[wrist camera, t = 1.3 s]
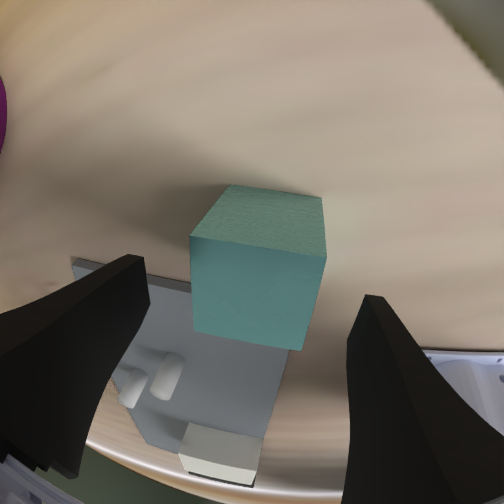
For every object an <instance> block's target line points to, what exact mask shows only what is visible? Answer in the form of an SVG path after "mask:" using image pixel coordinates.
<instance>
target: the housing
mask: <svg viewBox="0 0 504 504" xmlns="http://www.w3.org/2000/svg"><path fill="white" fill-rule="evenodd" d="M262 444H263V438H257V437H251V436H246V435H241V434H236V433H231V432H226V431H222V430H217V429H213V428H209V427H205V426H201V425H197V424H194V423H190V422H189V424H188V426H187V429H186V432H185V435H184V437H183V440H182V443H181V446H180V449H179V451H178V455H179V457H180V459H181V462H182V464H183V466H184V469H185V470H187V471H190V472H194V473H197V474H201V475H205V476H209V477H213V478H218V479H222V480H227V481H231V482H236V483H242V484H247V485H252V482H253V480H254V477H255V475H256V472H257V469H258V464H259V459H260V454H261V449H262Z"/></svg>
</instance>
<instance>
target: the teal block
mask: <svg viewBox="0 0 504 504" xmlns="http://www.w3.org/2000/svg"><path fill="white" fill-rule="evenodd" d="M326 259H327V253H326V240H325V228H324V217H323V207H322V198H318V197H312V196H306V195H300V194H294V193H287V192H281V191H274V190H267V189H260V188H253V187H245V186H237V185H230V186H229V187H228V188H227V189H226V190H225V192H224V193H223V194H222V195H221V197H220V198H219V199H218V200H217V201H216V203H215V204H214V205H213V206H212V208H211V209H210V210H209V211H208V213H207V214H206V215H205V216H204V218H203V219H202V220H201V222H200V223H199V224H198V225H197V227H196V228H195V229H194V230H193V232H192V233H191V234H190V267H191V290H192V308H193V324H194V331H197V332H201V333H206V334H210V335H215V336H220V337H224V338H229V339H234V340H239V341H245V342H250V343H255V344H261V345H267V346H272V347H278V348H284V349H291V350H297V351H301V350H302V346H303V343H304V340H305V336H306V333H307V330H308V326H309V323H310V319H311V316H312V312H313V309H314V305H315V301H316V298H317V294H318V290H319V287H320V283H321V279H322V275H323V271H324V267H325V263H326Z"/></svg>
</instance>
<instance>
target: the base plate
mask: <svg viewBox="0 0 504 504" xmlns="http://www.w3.org/2000/svg"><path fill="white" fill-rule="evenodd" d="M71 266H72V269H73V273H74V276H75V280H76V281H77V280H79V279H80V278H82V277H84V276H86V275H88V274H90V273H92V272H93V271H95V270H97V269H99V268H101V267H103V266H105V265H103V264H99V263H95V262H91V261H87V260H83V259H77V260H76V261H75V262H74V263H73V264H72V265H71ZM146 277H147V284H148V290H149V296H150V302H151V304H150V307H149V309H148V311H147V314H146V316H145V318H144V320H143V323H142V325H141V327H140V329H139V330H138V332H137V334H136V335H135V337H134V339H133V340H132V342H131V344H130V345H129V347H128V349H127V350H126V352H125V354H124V355H123V357H122V358H121V360H120V362H119V363H118V365H117V367H116V368H115V370H114V372H113V373H112V375H111V376H112V378H113V381H114V383H115V385H116V387H117V389H118V391H119V393H120V394H119V396H118V398H117V400H118V401H119V402H120V403H121V404H122V405H124V406H126V407H127V409H128V411H129V413H130V415H131V417H132V418H133V420H134V422H135V424H136V426H137V427H138V429H139V431H140V433H141V435H142V436H143V438H144V440H145V441H146V443H147V444H149V445H151V446H154V447H157V448H160V449H163V450H166V451H169V452H172V453H176V454H178V451H179V449H180V446H181V443H182V440H183V437H184V435H185V432H186V429H187V426H188V424H189V422H190V423H194V424H197V425H201V426H205V427H209V428H213V429H217V430H222V431H226V432H231V433H236V434H241V435H246V436H251V437H257V438H264V435H265V432H266V429H267V426H268V423H269V419H270V416H271V413H272V410H273V406H274V403H275V400H276V396H277V393H278V389H279V386H280V382H281V379H282V375H283V372H284V368H285V365H286V361H287V357H288V353H289V350H290V349H284V348H278V347H272V346H267V345H261V344H255V343H250V342H245V341H239V340H234V339H229V338H224V337H220V336H215V335H210V334H206V333H201V332H197V331H194V324H193V308H192V290H191V283H186V282H181V281H176V280H171V279H166V278H162V277H157V276H152V275H148V274H146ZM256 473H257V472H256ZM189 474H191V475H195V476H198V477H202V478H206V479H210V480H214V481H219V482H223V483H228V484H233V485H238V486H243V487H249V488H253V487H254V482H255V478H256V475H255V477H254V480H253V482H252V485H247V484H242V483H236V482H231V481H227V480H222V479H218V478H213V477H209V476H205V475H201V474H197V473H194V472H190V471H189Z"/></svg>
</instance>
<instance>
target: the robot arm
mask: <svg viewBox="0 0 504 504" xmlns="http://www.w3.org/2000/svg"><path fill="white" fill-rule="evenodd" d="M150 304H151V302H150V296H149V290H148V284H147V277H146V270H145V263H144V257H142V256H136V255H131V254H127V255H125V256H123V257H120V258H118V259H116V260H114V261H112V262H110V263H108V264H106V265H105V266H103V267H101V268H99V269H97V270H95V271H93V272H92V273H90V274H88V275H86V276H84V277H82V278H80V279H79V280H77V281H75V282H73V283H71V284H69V285H67V286H65V287H63V288H61V289H59V290H57V291H55V292H53V293H51V294H49V295H47V296H45V297H43V298H41V299H38V300H36V301H34V302H31V303H29V304H27V305H24V306H22V307H19V308H16V309H13V310H10V311H7V312H4V313H1V314H0V504H42V501H44V502H45V503H46V504H84V503H82V502H80V501H79V500H77V499H75V498H73V497H71V496H70V495H68V494H66V493H65V492H63V491H61V490H60V489H58V488H57V487H55V486H54V485H52V484H50V483H49V482H47V481H46V480H44V479H43V478H42V477H40V476H39V475H37V474H36V473H34V471H35V469H36V467H37V466H38V467H39V468H40V469H42V470H43V471H45V472H46V471H48V469H49V467H50V468H52V469H53V470H55V471H56V472H58V473H60V474H61V475H63V476H65V477H66V478H68V479H74V478H77V477H78V475H79V469H80V463H81V459H82V454H83V449H84V446H85V442H86V439H87V435H88V432H89V429H90V426H91V423H92V420H93V417H94V414H95V412H96V409H97V406H98V404H99V401H100V399H101V396H102V394H103V392H104V389H105V387H106V385H107V383H108V381H109V379H110V377H111V375H112V373H113V372H114V370H115V368H116V367H117V365H118V363H119V362H120V360H121V358H122V357H123V355H124V354H125V352H126V350H127V349H128V347H129V345H130V344H131V342H132V340H133V339H134V337H135V335H136V334H137V332H138V330H139V329H140V327H141V325H142V323H143V320H144V318H145V316H146V314H147V311H148V309H149V307H150ZM346 369H347V383H348V397H349V412H350V445H349V455H348V465H347V472H346V479H345V485H344V491H343V496H342V501H341V504H504V352H456V351H435V350H422V349H421V348H420V347H419V345H418V344H417V343H416V341H415V340H414V338H413V337H412V336H411V334H410V333H409V332H408V330H407V329H406V327H405V326H404V324H403V323H402V322H401V320H400V319H399V317H398V316H397V315H396V313H395V312H394V310H393V309H392V308H391V306H390V305H389V304H388V302H387V301H386V300H385V298H384V297H381V296H374V295H367V294H365V297H364V299H363V302H362V305H361V307H360V310H359V312H358V315H357V317H356V320H355V322H354V325H353V327H352V329H351V332H350V334H349V337H348V339H347V361H346ZM41 500H42V501H41Z"/></svg>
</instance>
